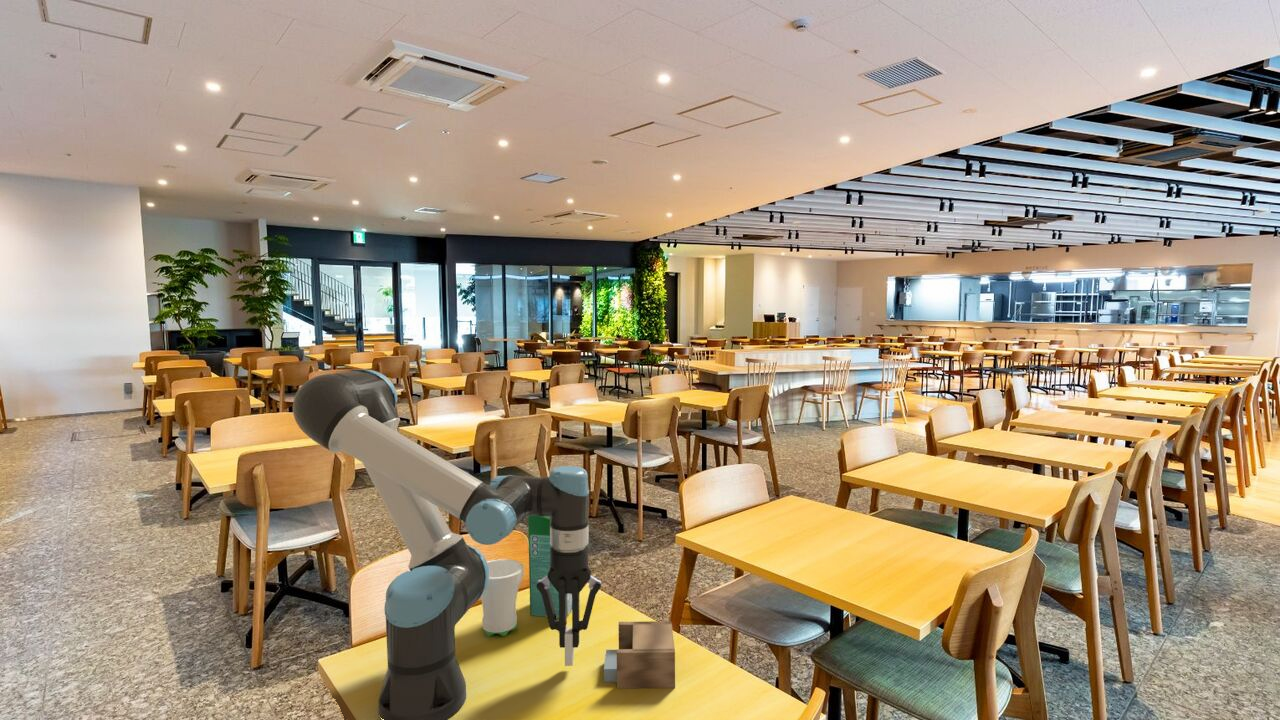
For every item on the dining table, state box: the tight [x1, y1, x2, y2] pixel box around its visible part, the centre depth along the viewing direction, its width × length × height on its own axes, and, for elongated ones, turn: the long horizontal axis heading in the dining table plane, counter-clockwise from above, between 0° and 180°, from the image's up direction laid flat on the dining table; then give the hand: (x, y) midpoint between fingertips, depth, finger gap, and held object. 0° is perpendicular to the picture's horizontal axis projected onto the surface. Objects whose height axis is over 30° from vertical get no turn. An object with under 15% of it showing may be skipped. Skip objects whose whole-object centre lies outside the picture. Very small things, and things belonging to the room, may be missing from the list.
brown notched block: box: [616, 620, 676, 689], centre depth 124 cm, size 11×12×7 cm
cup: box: [480, 558, 525, 637], centre depth 140 cm, size 11×11×14 cm
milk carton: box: [527, 516, 572, 619], centre depth 150 cm, size 9×9×25 cm
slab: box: [603, 649, 617, 683], centre depth 124 cm, size 11×7×3 cm, turn 89°
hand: (569, 661), depth 124 cm, fingers closed
